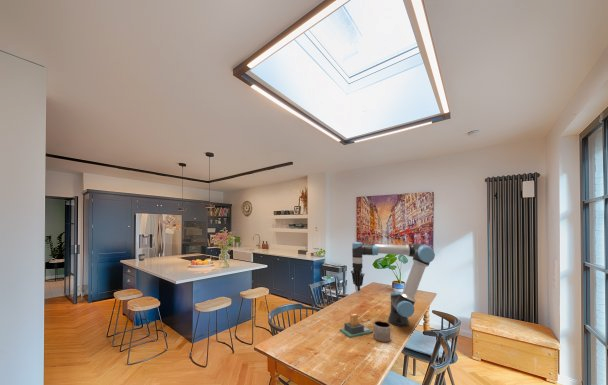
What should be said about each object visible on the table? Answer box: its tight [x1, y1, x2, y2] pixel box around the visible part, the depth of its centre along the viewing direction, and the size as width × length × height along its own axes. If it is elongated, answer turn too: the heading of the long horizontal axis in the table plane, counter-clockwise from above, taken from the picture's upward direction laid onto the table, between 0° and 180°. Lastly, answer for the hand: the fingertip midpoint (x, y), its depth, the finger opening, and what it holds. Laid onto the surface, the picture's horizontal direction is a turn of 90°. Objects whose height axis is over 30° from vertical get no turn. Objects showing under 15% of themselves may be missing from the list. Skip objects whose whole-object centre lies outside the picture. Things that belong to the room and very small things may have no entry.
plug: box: [349, 313, 359, 327], centre depth 181 cm, size 4×3×10 cm, turn 116°
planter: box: [373, 320, 391, 343], centre depth 172 cm, size 11×11×10 cm
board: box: [339, 321, 374, 339], centre depth 181 cm, size 20×12×5 cm, turn 116°
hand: (357, 294), depth 192 cm, fingers closed
